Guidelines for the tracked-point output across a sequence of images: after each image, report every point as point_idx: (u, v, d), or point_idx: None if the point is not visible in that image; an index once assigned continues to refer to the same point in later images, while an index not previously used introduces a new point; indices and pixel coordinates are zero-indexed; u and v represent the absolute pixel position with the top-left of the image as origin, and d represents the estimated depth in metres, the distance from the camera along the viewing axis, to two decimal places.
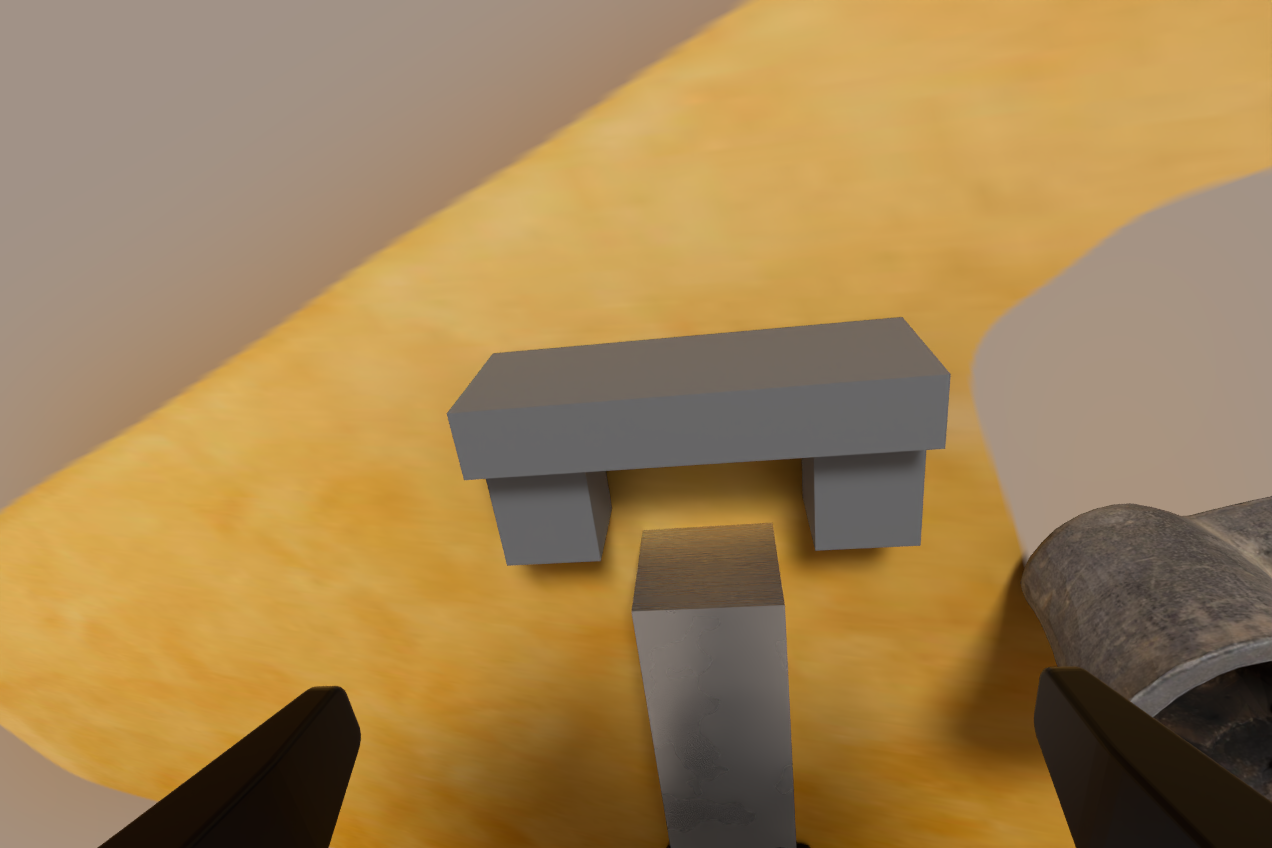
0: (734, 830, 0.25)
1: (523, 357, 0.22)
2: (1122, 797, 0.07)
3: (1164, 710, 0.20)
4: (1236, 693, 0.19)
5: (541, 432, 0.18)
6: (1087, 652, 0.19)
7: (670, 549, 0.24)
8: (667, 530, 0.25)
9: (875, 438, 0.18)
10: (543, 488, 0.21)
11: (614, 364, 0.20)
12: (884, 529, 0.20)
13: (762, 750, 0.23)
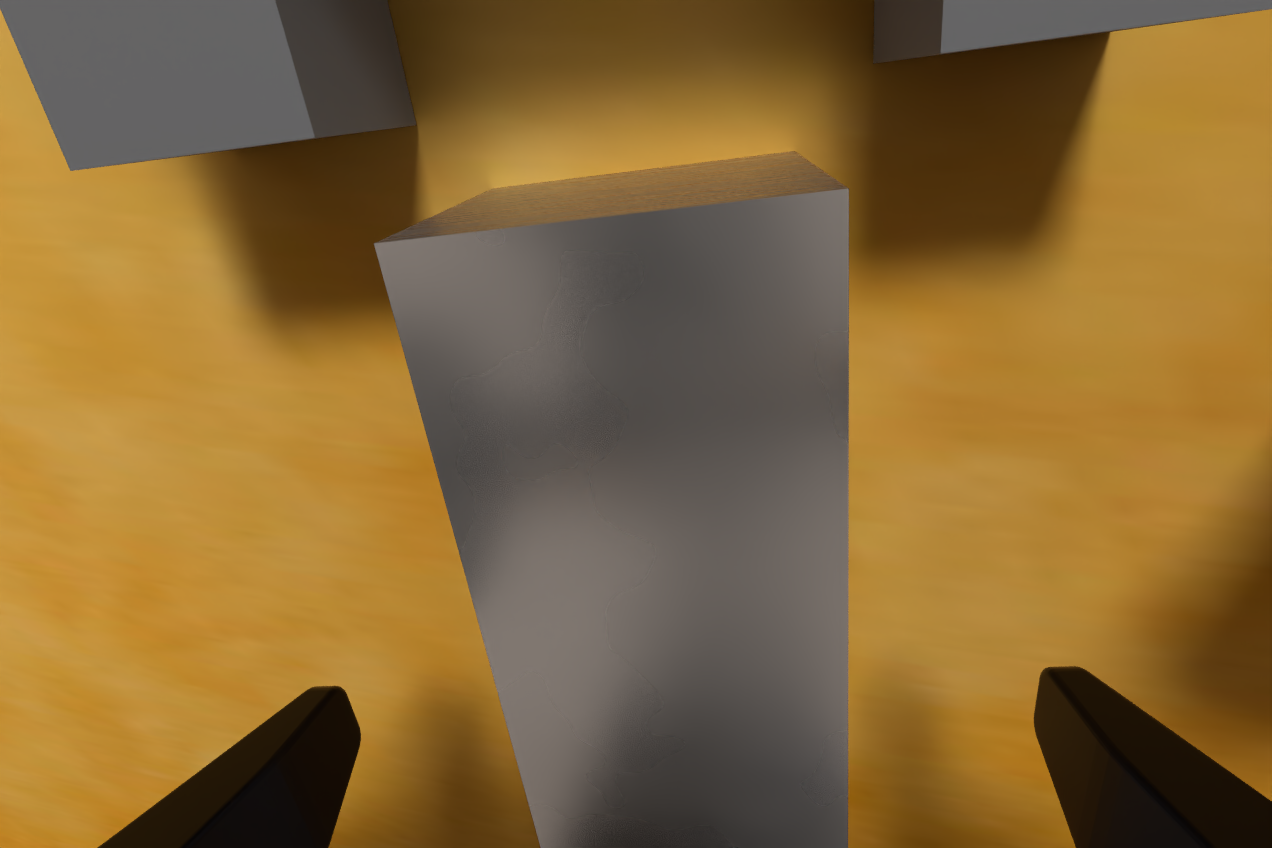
0: None
1: None
2: (1122, 797, 0.07)
3: None
4: None
5: None
6: None
7: (539, 191, 0.09)
8: (547, 182, 0.10)
9: None
10: None
11: None
12: None
13: (770, 691, 0.09)
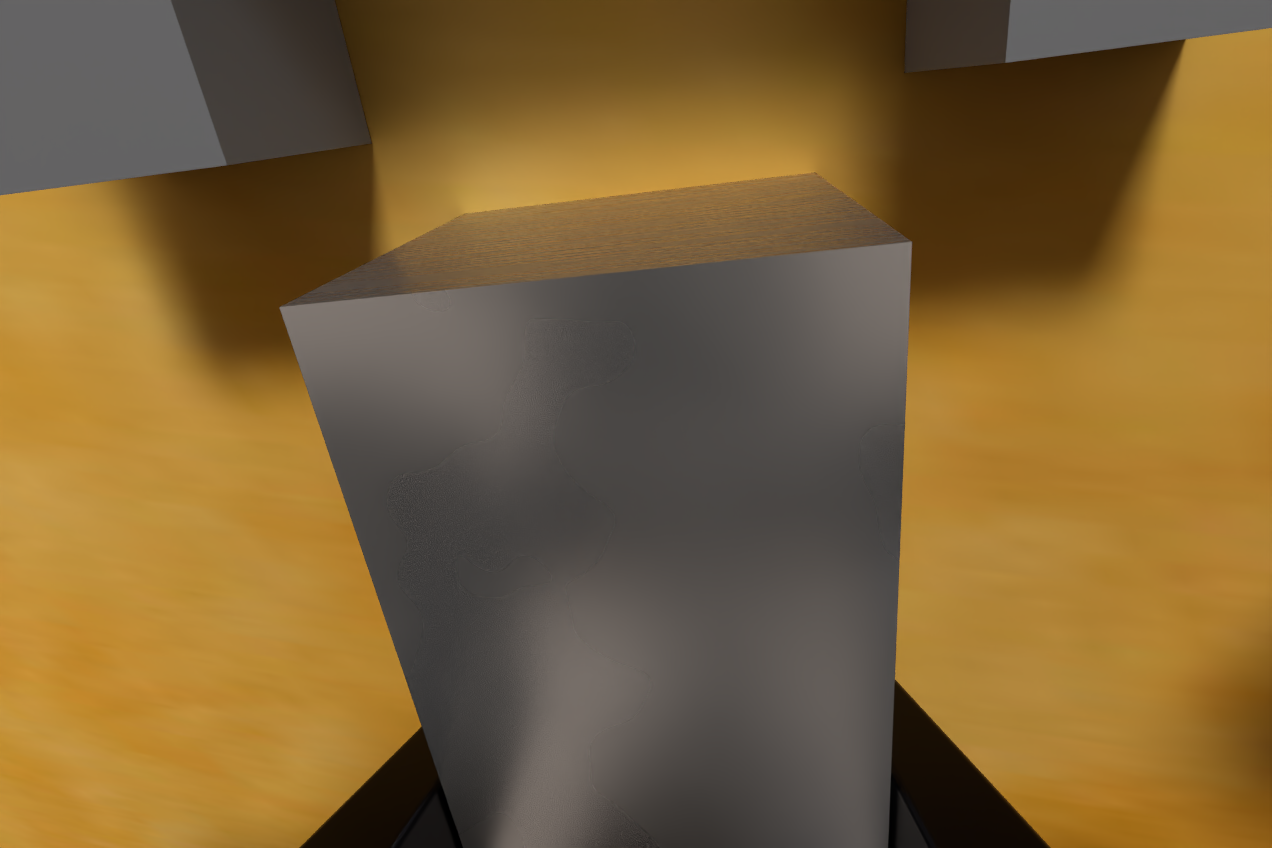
0: None
1: None
2: None
3: None
4: None
5: None
6: None
7: (512, 223, 0.08)
8: (523, 209, 0.09)
9: None
10: None
11: None
12: None
13: (793, 841, 0.07)
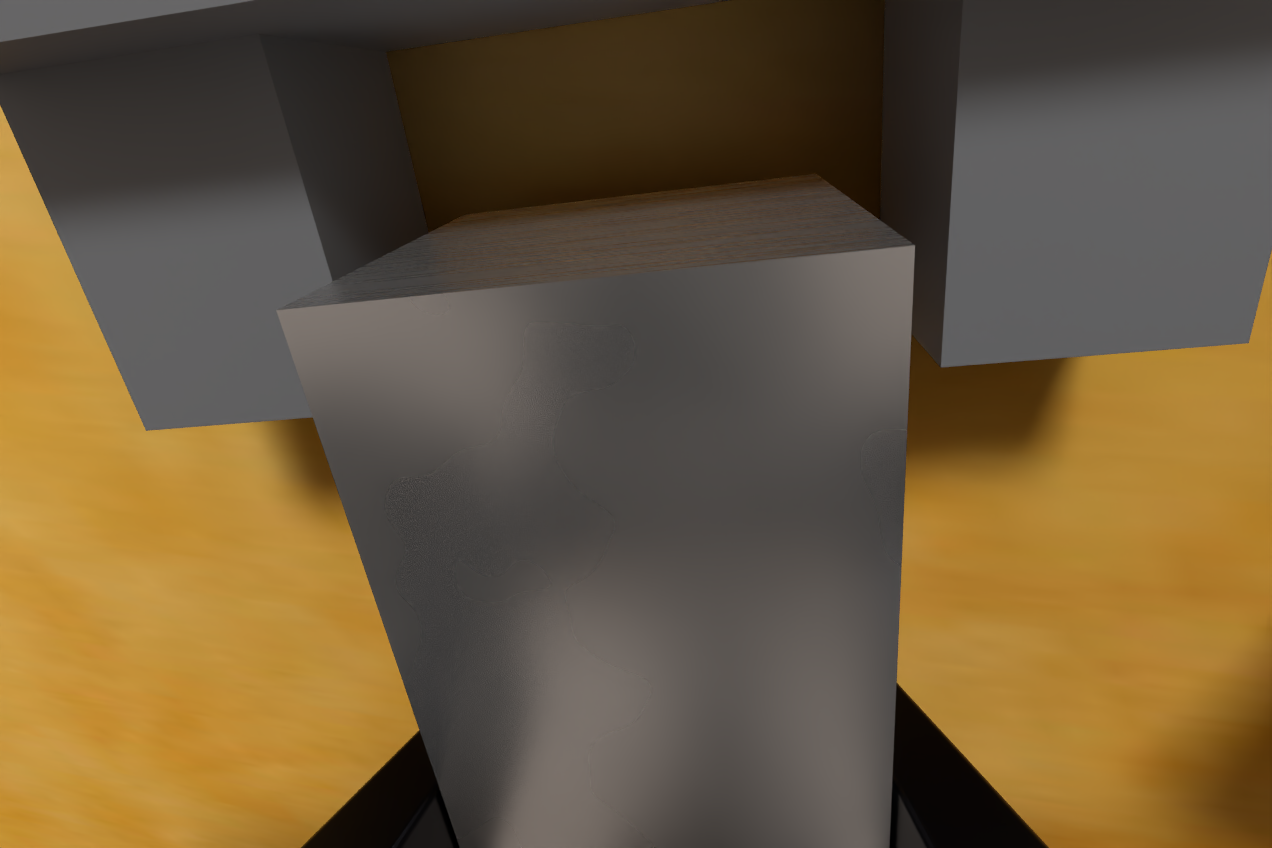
0: None
1: None
2: None
3: None
4: None
5: None
6: None
7: (510, 225, 0.08)
8: (523, 211, 0.09)
9: None
10: (184, 188, 0.07)
11: None
12: (1149, 292, 0.07)
13: None
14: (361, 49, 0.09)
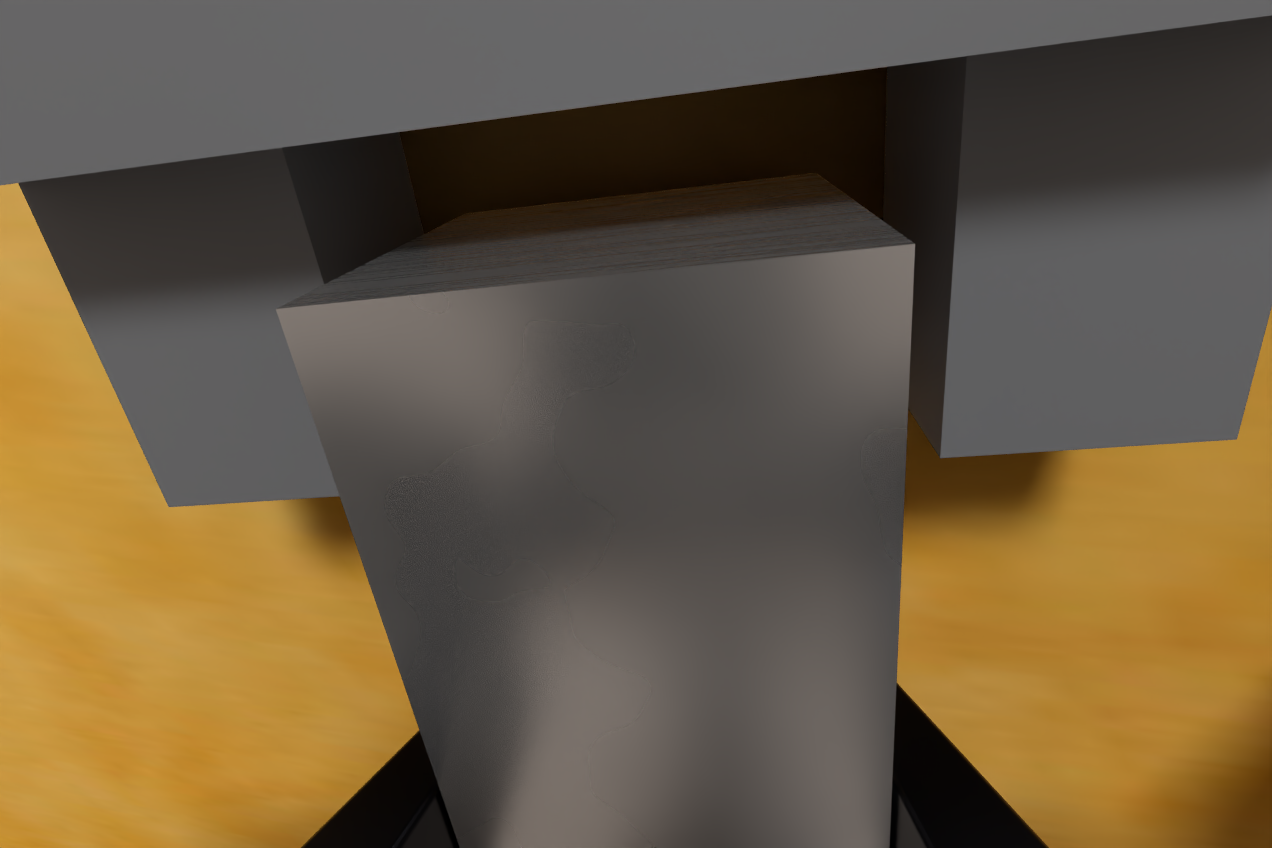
0: None
1: None
2: None
3: None
4: None
5: None
6: None
7: (510, 224, 0.08)
8: (522, 210, 0.09)
9: None
10: (207, 287, 0.08)
11: None
12: (1141, 392, 0.07)
13: (794, 847, 0.07)
14: (376, 134, 0.09)
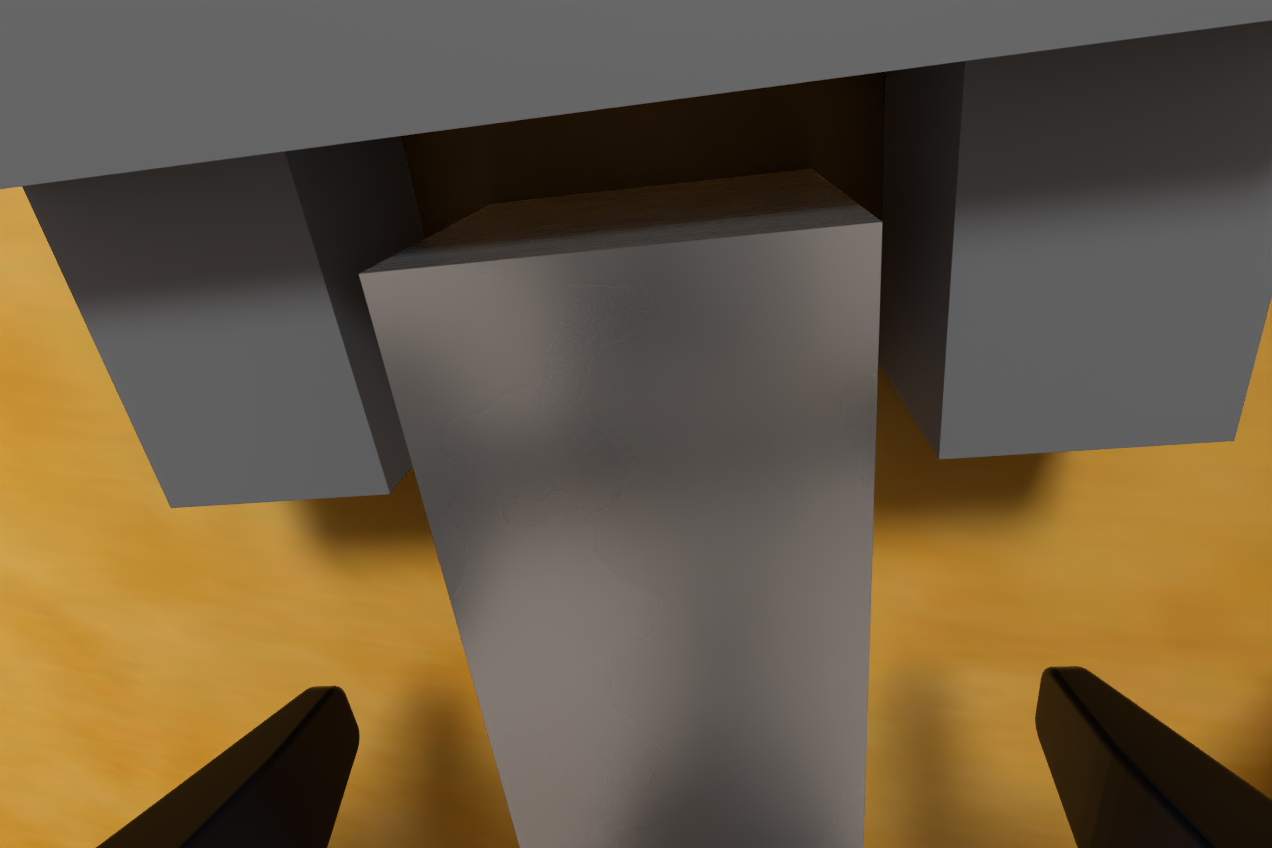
0: None
1: None
2: (1124, 797, 0.07)
3: None
4: None
5: None
6: None
7: (540, 210, 0.09)
8: (548, 198, 0.10)
9: None
10: (210, 288, 0.08)
11: None
12: (1139, 394, 0.07)
13: (783, 749, 0.08)
14: None
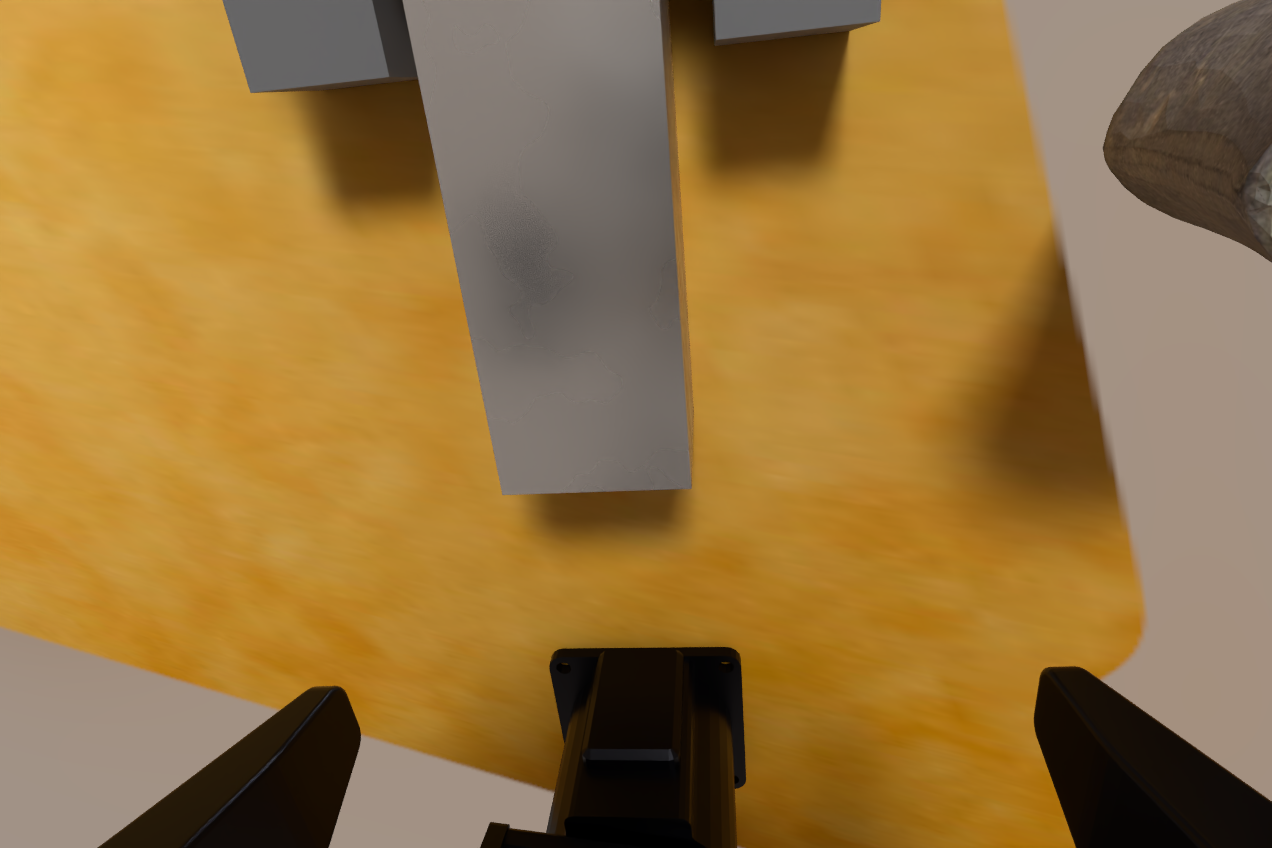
0: (591, 415, 0.16)
1: None
2: (1122, 797, 0.07)
3: None
4: None
5: None
6: (1258, 81, 0.11)
7: None
8: None
9: None
10: None
11: None
12: None
13: (625, 227, 0.14)
14: None
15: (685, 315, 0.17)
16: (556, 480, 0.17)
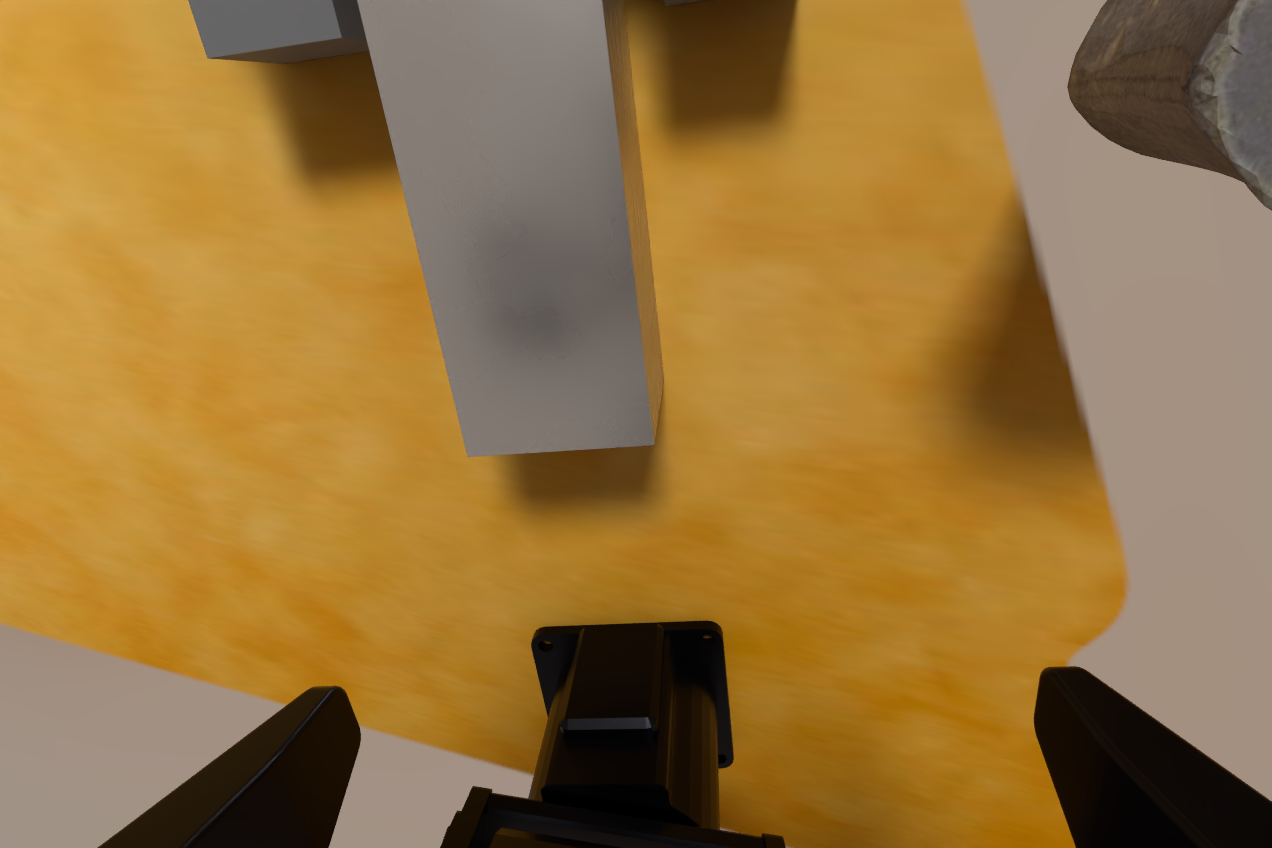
0: (550, 371, 0.16)
1: None
2: (1122, 797, 0.07)
3: None
4: None
5: None
6: None
7: None
8: None
9: None
10: None
11: None
12: None
13: (575, 177, 0.14)
14: None
15: (647, 276, 0.17)
16: (520, 440, 0.17)
